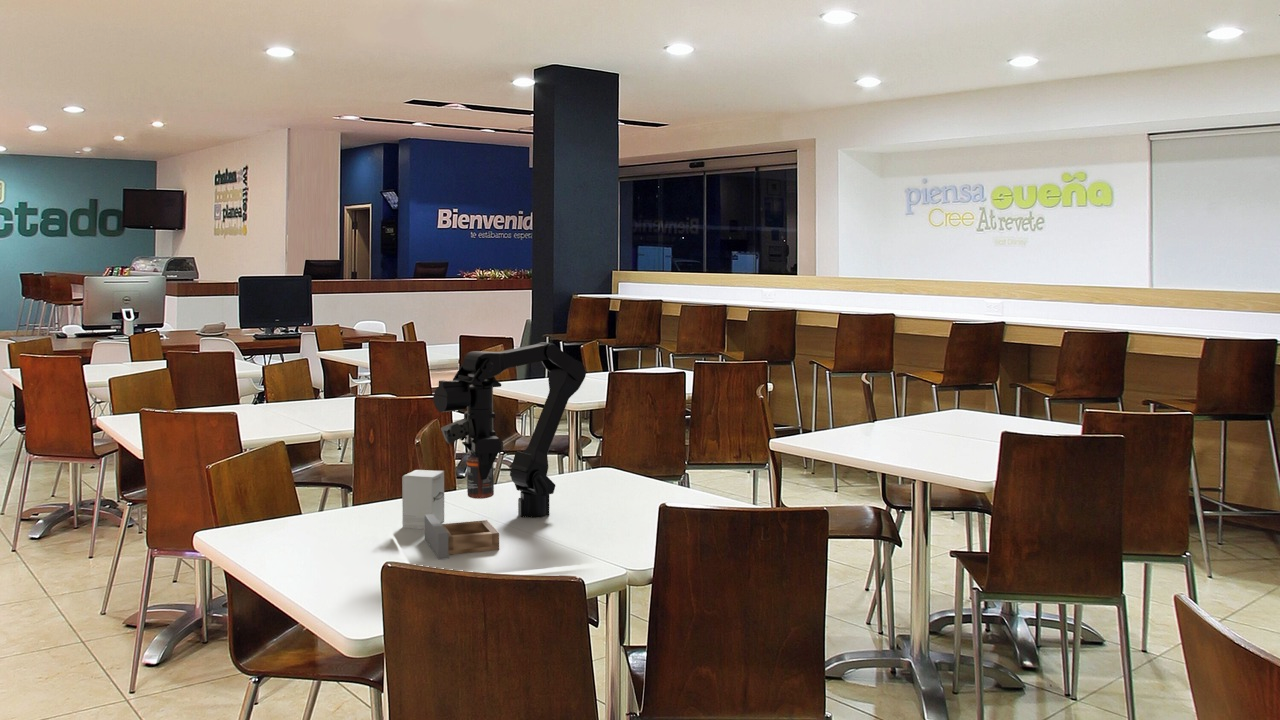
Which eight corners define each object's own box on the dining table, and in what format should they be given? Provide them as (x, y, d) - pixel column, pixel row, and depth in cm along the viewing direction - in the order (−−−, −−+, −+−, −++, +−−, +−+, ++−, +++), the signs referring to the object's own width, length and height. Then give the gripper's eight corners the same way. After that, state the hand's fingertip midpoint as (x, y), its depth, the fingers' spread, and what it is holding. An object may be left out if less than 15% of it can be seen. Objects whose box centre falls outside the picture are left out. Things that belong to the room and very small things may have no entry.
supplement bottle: (498, 494, 227) (498, 445, 226) (486, 500, 222) (485, 450, 221) (475, 492, 229) (474, 443, 228) (462, 498, 224) (461, 448, 223)
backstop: (521, 533, 223) (521, 506, 222) (541, 552, 208) (541, 524, 208) (424, 542, 215) (424, 514, 215) (438, 563, 200) (438, 533, 200)
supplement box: (432, 533, 223) (432, 477, 221) (401, 531, 224) (400, 475, 223) (445, 524, 230) (445, 470, 229) (415, 522, 231) (414, 468, 230)
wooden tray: (487, 535, 218) (487, 520, 217) (499, 549, 207) (499, 532, 207) (436, 540, 213) (436, 524, 213) (446, 554, 203) (445, 537, 203)
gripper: (436, 403, 229) (437, 471, 231) (452, 415, 212) (452, 488, 214) (484, 401, 233) (484, 467, 235) (503, 413, 216) (503, 484, 218)
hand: (480, 476), depth 225 cm, fingers closed on supplement bottle, 6 cm apart
